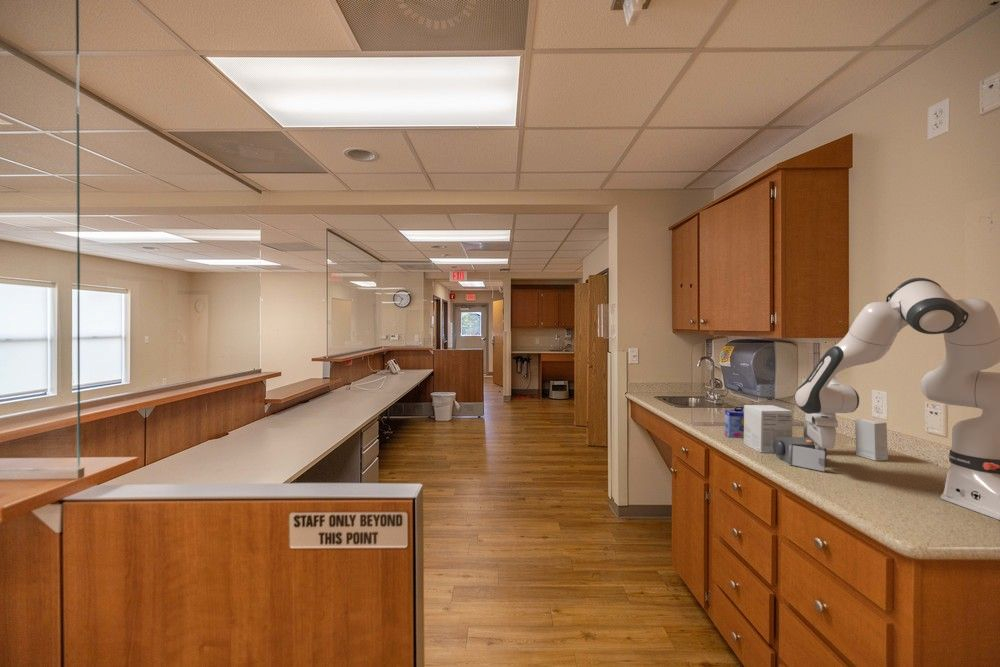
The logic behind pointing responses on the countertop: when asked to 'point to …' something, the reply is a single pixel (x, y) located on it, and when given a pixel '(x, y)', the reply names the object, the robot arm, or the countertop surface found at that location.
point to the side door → (807, 458)
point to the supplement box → (766, 426)
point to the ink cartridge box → (734, 422)
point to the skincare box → (871, 439)
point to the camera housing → (783, 446)
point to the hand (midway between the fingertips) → (819, 454)
